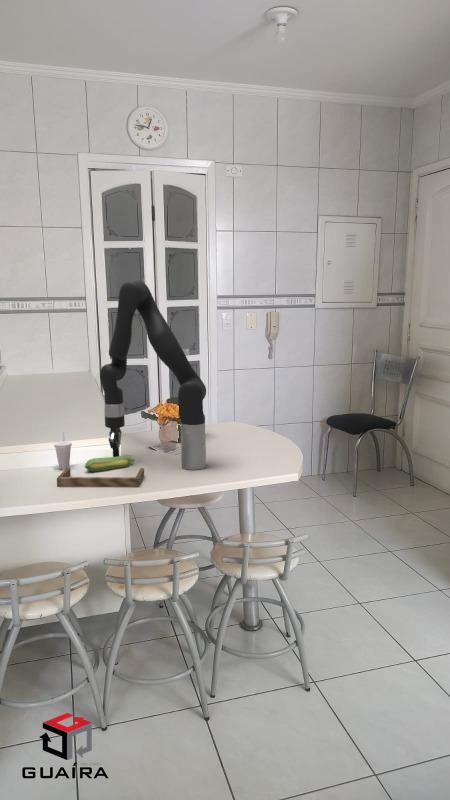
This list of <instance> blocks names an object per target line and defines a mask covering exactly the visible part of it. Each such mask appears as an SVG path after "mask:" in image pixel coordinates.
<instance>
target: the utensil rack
mask: <svg viewBox="0 0 450 800" xmlns="http://www.w3.org/2000/svg"><path fill="white" fill-rule="evenodd" d="M144 477H145V468H143V467H140V469H139V470H138V472H137V474H136V476H135V477H128V476H127V477H125V476H124V477H120V476H117V477H116V476H115V477H114V476H112V477H111V476H110V477H109V476H107V477H106V476H105V477H104V476H102V477H97V476H96V477H95V476H94V477H93V476H92V477H91V476H85V477H84V476H82V477H81V476H72V477H71V467H69V468H66V469H63V471H62V472H61V473H60V474H59V475H58V476H57V477H56V487H59V488H61V487H64V488H65V487H67V488H68V487H71V488H72V487H73V488H81V487H83V488H85V487H87V488H88V487H89V488H90V487H91V488H101V487H102V488H103V487H105V488H113V487H114V488H139V487H140V485H141V483H142V481H143V479H144Z"/></svg>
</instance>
